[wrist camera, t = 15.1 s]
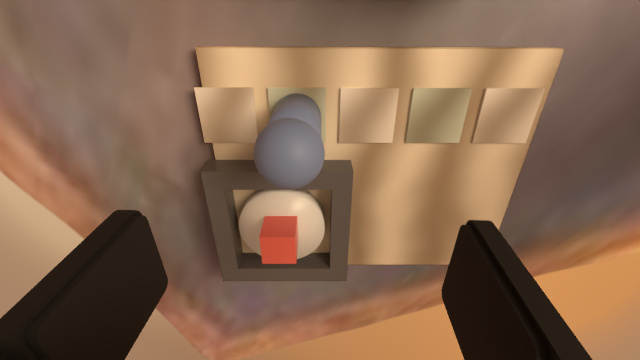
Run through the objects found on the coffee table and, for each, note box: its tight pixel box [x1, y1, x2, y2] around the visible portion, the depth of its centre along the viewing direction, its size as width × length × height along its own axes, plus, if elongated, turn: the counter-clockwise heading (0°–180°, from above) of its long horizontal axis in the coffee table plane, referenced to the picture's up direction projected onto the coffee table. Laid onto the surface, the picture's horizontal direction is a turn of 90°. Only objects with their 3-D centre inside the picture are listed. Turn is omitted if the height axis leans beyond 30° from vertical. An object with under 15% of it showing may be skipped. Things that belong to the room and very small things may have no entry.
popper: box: [239, 190, 325, 264], centre depth 25 cm, size 7×7×4 cm
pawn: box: [254, 93, 325, 189], centre depth 18 cm, size 4×4×8 cm
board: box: [194, 47, 564, 265], centre depth 25 cm, size 24×19×1 cm
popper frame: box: [200, 160, 353, 281], centre depth 26 cm, size 11×11×2 cm
